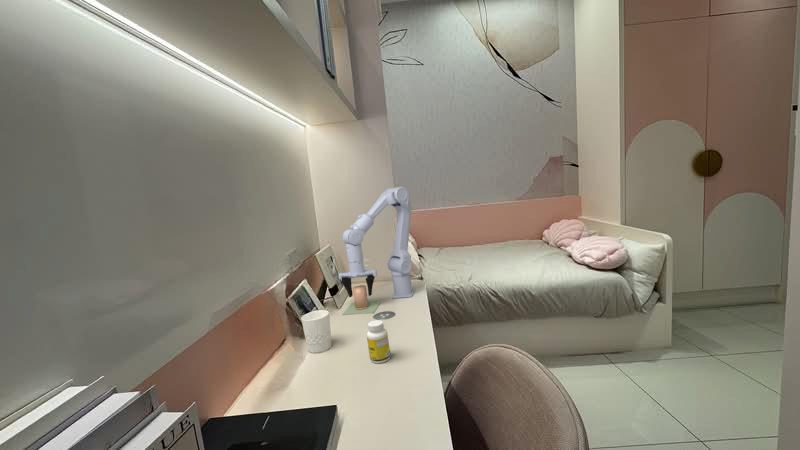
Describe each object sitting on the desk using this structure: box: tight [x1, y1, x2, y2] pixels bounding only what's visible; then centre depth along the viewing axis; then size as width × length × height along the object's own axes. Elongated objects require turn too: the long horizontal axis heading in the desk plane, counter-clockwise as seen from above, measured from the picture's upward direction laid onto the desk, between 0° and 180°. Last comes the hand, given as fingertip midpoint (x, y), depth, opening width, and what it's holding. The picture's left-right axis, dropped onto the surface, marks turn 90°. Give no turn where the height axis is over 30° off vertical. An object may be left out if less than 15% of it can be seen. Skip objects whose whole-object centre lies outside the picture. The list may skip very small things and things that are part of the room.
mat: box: [342, 300, 381, 316], centre depth 133 cm, size 12×12×1 cm
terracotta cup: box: [352, 284, 369, 310], centre depth 132 cm, size 5×5×8 cm
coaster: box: [372, 310, 396, 321], centre depth 122 cm, size 8×8×1 cm
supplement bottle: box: [366, 319, 391, 364], centre depth 90 cm, size 5×5×10 cm
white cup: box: [300, 309, 333, 354], centre depth 102 cm, size 8×8×10 cm
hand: (360, 295), depth 132 cm, fingers open, 7 cm apart
